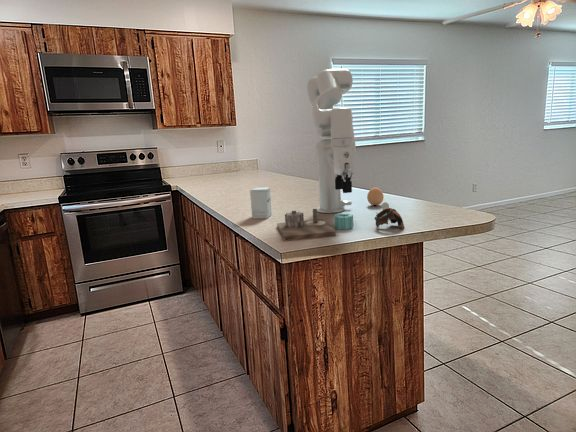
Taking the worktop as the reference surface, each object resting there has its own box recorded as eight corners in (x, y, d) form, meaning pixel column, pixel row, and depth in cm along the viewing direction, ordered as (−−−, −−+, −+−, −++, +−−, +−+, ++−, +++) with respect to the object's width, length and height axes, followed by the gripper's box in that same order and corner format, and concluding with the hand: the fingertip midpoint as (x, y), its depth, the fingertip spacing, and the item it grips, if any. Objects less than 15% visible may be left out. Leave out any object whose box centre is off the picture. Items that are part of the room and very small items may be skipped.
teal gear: (350, 224, 151) (349, 212, 150) (355, 228, 145) (355, 216, 144) (332, 225, 150) (332, 214, 149) (337, 230, 144) (337, 218, 143)
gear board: (322, 222, 156) (321, 205, 155) (335, 235, 137) (335, 215, 135) (277, 226, 154) (276, 209, 152) (284, 240, 135) (283, 220, 133)
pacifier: (396, 219, 155) (393, 215, 161) (396, 204, 154) (393, 201, 159) (377, 220, 156) (375, 216, 162) (377, 205, 154) (375, 201, 160)
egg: (386, 204, 183) (386, 186, 181) (378, 207, 178) (378, 189, 176) (372, 203, 188) (372, 185, 186) (364, 206, 182) (364, 188, 181)
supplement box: (268, 218, 169) (266, 189, 167) (251, 218, 171) (249, 189, 168) (272, 214, 176) (270, 186, 174) (256, 214, 178) (254, 187, 175)
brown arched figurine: (404, 233, 137) (392, 214, 135) (380, 242, 142) (369, 224, 141) (408, 217, 147) (397, 199, 145) (386, 226, 152) (375, 208, 150)
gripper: (359, 142, 133) (361, 193, 136) (344, 142, 150) (346, 187, 153) (338, 144, 132) (340, 195, 135) (325, 143, 148) (327, 188, 152)
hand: (343, 190), depth 144 cm, fingers open, 9 cm apart
